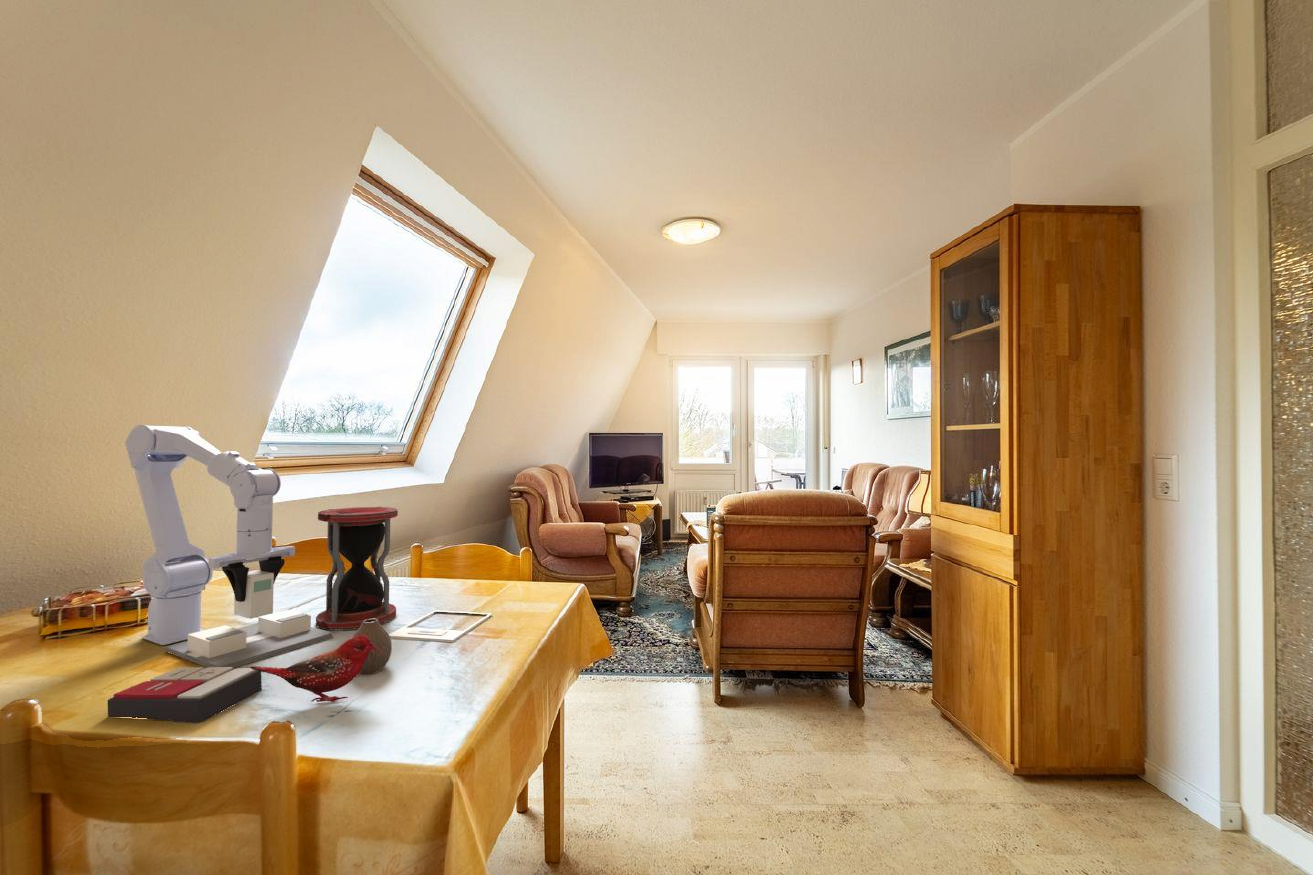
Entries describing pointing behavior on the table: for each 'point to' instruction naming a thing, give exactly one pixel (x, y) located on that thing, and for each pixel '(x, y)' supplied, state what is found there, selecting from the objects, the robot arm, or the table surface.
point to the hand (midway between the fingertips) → (253, 598)
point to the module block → (256, 595)
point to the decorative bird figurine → (326, 668)
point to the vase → (378, 639)
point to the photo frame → (433, 630)
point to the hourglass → (357, 567)
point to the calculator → (186, 694)
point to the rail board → (249, 640)
